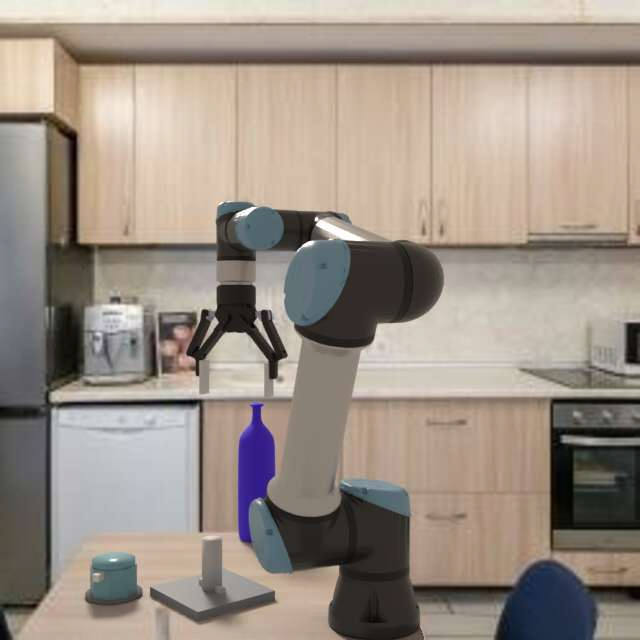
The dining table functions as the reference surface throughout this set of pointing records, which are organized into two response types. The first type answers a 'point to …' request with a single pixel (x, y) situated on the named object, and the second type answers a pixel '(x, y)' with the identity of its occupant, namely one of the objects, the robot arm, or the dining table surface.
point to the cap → (113, 576)
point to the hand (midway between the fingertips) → (236, 395)
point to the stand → (211, 587)
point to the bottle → (253, 467)
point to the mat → (116, 601)
